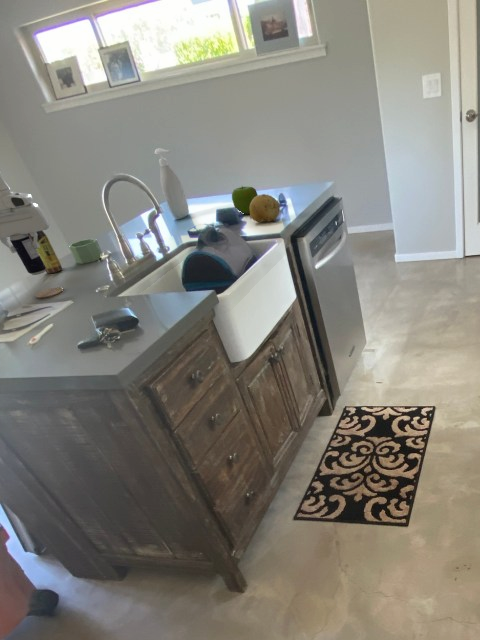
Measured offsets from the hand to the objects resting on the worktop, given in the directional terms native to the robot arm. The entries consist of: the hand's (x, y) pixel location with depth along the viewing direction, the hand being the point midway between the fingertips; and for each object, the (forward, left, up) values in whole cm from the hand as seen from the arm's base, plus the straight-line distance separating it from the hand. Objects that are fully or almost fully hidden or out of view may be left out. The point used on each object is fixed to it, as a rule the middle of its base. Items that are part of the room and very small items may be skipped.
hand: (26, 250), depth 168 cm
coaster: (0, 0, -14) cm, 14 cm away
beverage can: (0, 0, -7) cm, 7 cm away
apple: (+74, +63, -14) cm, 98 cm away
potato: (+80, +40, -14) cm, 91 cm away
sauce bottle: (-4, +29, -14) cm, 32 cm away
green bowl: (+8, +37, -14) cm, 40 cm away
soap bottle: (+44, +83, -14) cm, 95 cm away
